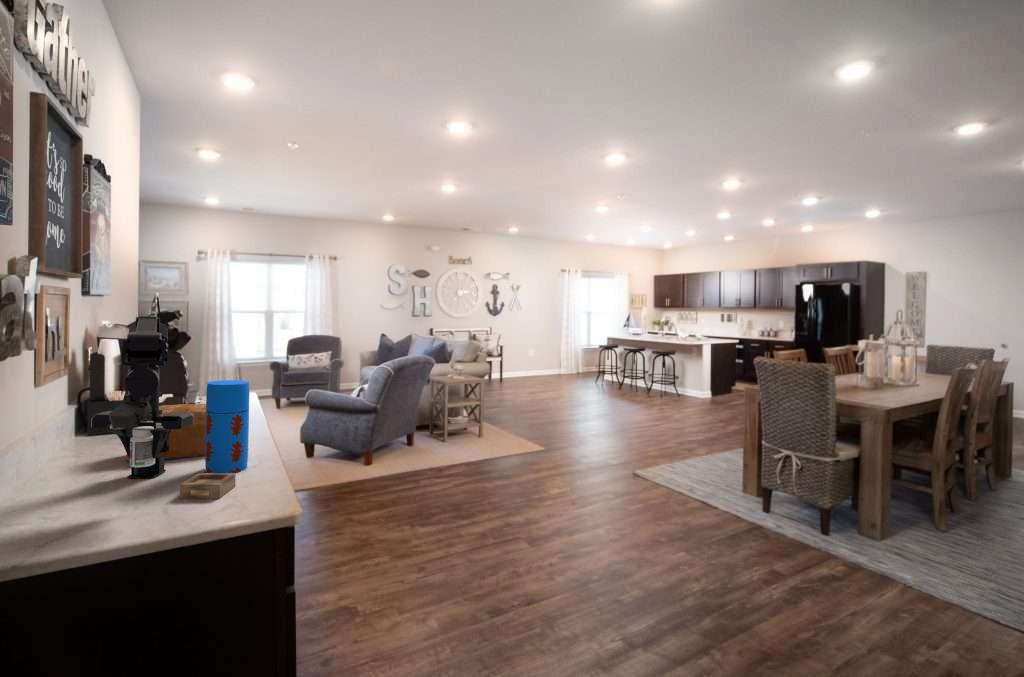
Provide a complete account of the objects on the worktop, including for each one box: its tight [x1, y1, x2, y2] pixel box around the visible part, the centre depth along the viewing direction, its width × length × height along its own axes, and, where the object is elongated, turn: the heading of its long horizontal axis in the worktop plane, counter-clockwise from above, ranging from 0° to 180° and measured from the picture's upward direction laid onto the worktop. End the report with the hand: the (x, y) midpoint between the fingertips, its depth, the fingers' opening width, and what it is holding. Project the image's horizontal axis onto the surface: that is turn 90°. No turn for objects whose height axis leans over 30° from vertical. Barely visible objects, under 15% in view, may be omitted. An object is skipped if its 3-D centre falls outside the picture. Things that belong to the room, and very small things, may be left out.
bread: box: [126, 403, 206, 463], centre depth 160 cm, size 14×26×16 cm, turn 127°
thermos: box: [204, 379, 251, 474], centre depth 147 cm, size 11×11×25 cm
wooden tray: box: [179, 472, 237, 500], centre depth 128 cm, size 9×9×4 cm
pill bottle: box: [129, 426, 155, 467], centre depth 116 cm, size 5×5×8 cm
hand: (142, 457), depth 117 cm, fingers closed on pill bottle, 5 cm apart
